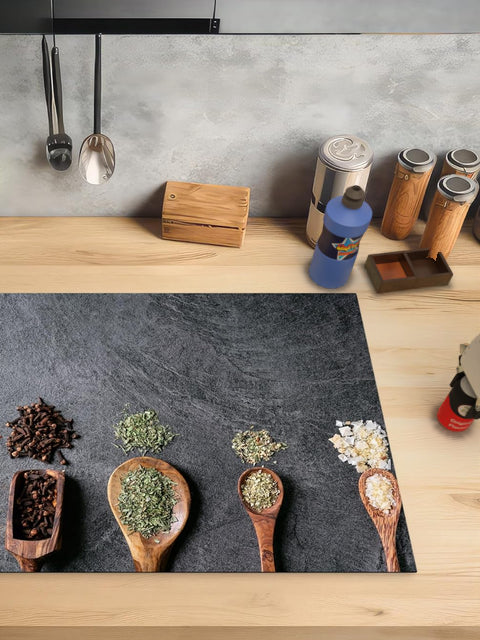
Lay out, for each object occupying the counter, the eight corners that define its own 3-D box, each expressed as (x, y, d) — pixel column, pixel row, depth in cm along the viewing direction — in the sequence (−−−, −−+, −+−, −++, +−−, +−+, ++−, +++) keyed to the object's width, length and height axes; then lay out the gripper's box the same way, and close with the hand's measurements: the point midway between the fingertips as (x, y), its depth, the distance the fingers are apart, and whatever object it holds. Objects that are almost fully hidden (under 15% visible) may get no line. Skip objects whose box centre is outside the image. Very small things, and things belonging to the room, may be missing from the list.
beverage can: (428, 416, 144) (450, 382, 134) (450, 401, 146) (473, 366, 136) (453, 439, 141) (477, 406, 131) (475, 423, 143) (501, 389, 133)
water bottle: (356, 285, 164) (388, 200, 144) (316, 292, 163) (343, 207, 143) (340, 255, 170) (369, 169, 149) (302, 262, 169) (325, 176, 148)
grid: (433, 257, 169) (438, 246, 166) (447, 285, 164) (453, 274, 161) (364, 265, 168) (368, 254, 165) (376, 293, 163) (381, 282, 160)
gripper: (550, 382, 119) (504, 438, 133) (503, 302, 129) (465, 361, 143) (506, 388, 118) (465, 443, 133) (462, 307, 128) (428, 366, 143)
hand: (465, 400), depth 138 cm, fingers closed on beverage can, 6 cm apart
